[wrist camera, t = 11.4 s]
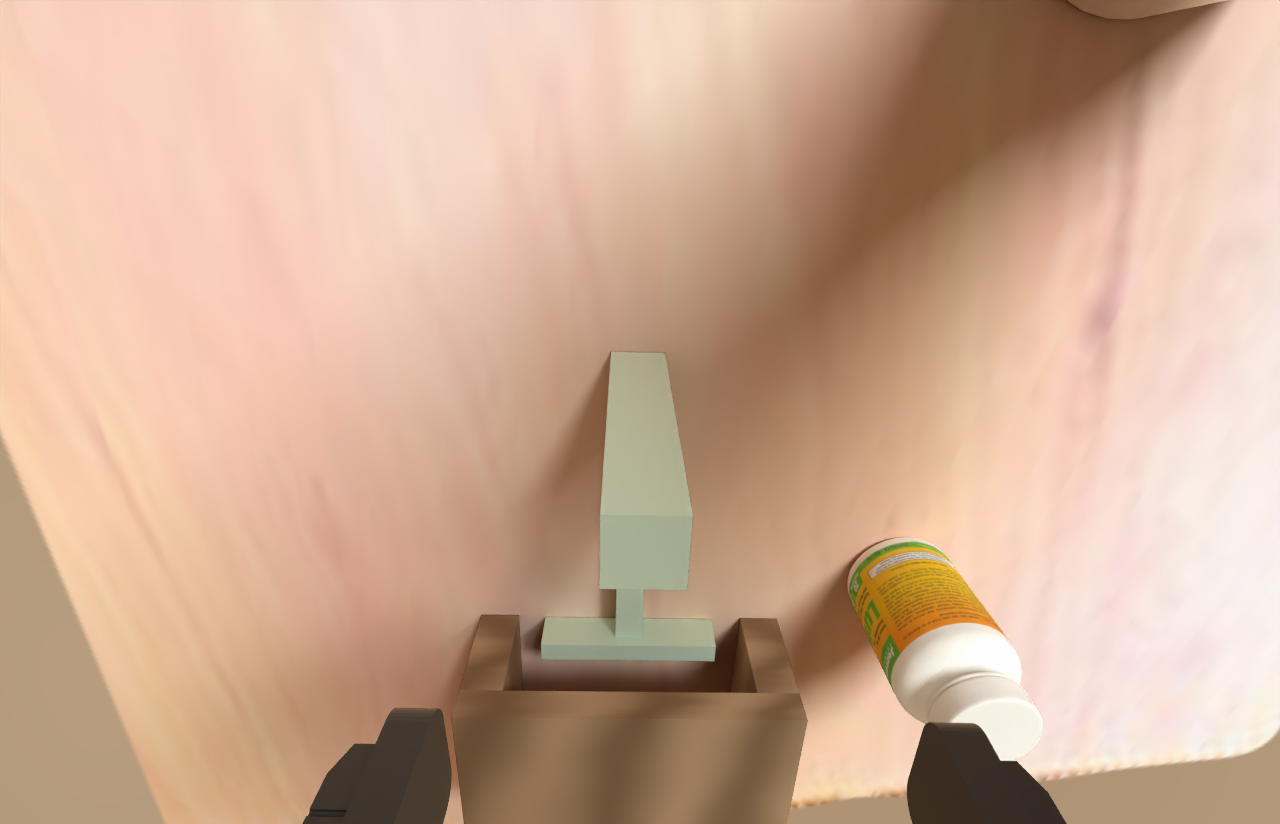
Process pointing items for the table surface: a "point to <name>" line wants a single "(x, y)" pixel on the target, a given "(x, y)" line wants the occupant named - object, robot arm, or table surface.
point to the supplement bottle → (941, 644)
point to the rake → (638, 527)
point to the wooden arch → (627, 742)
